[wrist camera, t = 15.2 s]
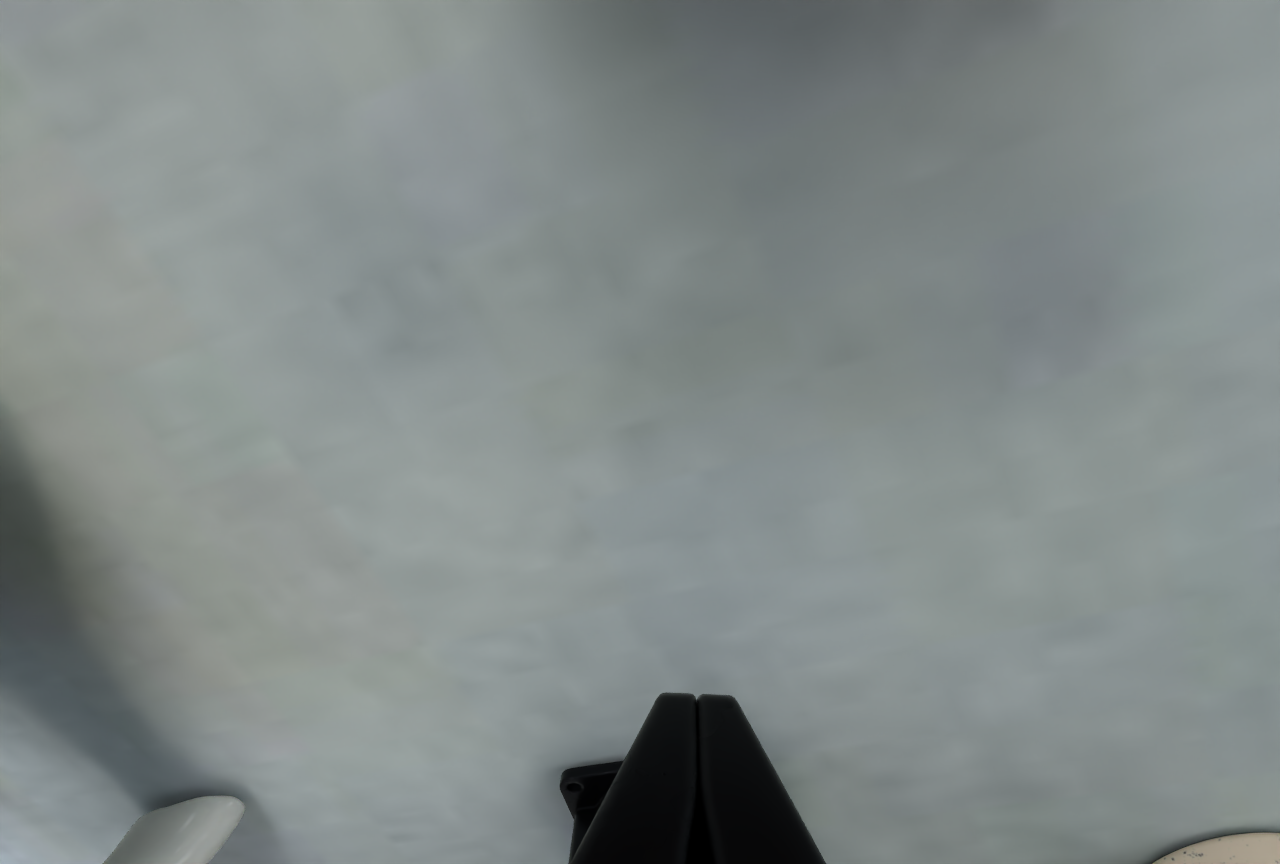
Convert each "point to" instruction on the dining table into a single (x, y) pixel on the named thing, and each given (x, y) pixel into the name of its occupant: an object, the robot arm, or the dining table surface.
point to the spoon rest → (180, 832)
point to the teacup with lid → (1229, 850)
